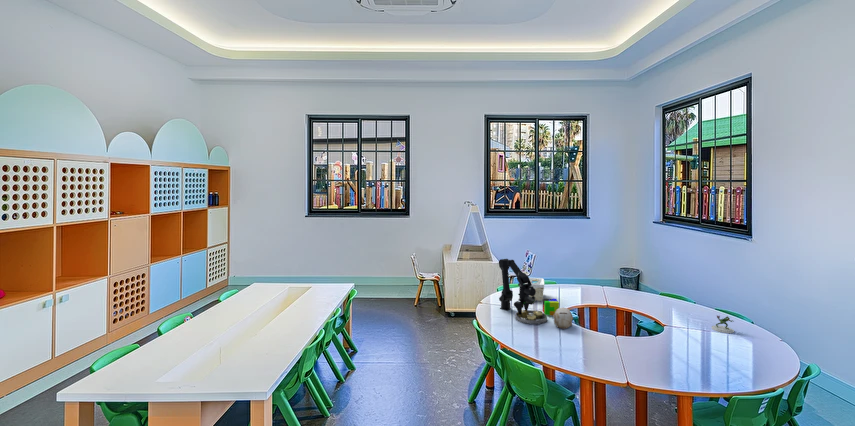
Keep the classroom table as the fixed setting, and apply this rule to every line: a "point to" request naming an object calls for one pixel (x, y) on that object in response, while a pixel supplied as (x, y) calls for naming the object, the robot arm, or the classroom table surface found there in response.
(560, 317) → the coin bank
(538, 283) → the storage basket
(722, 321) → the monster figurine
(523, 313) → the planet gear
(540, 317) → the tray
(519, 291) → the robot arm
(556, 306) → the puzzle toy
